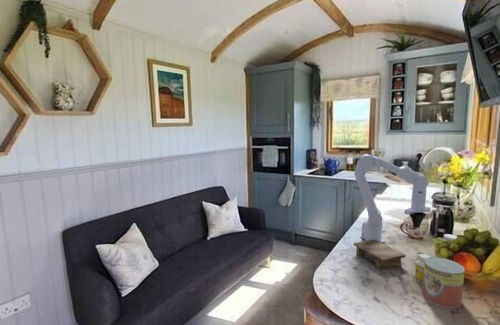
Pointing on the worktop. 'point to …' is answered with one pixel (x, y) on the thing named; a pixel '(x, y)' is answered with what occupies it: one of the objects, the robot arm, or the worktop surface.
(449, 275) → the canned food
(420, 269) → the supplement bottle
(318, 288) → the worktop surface
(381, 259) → the overhang
